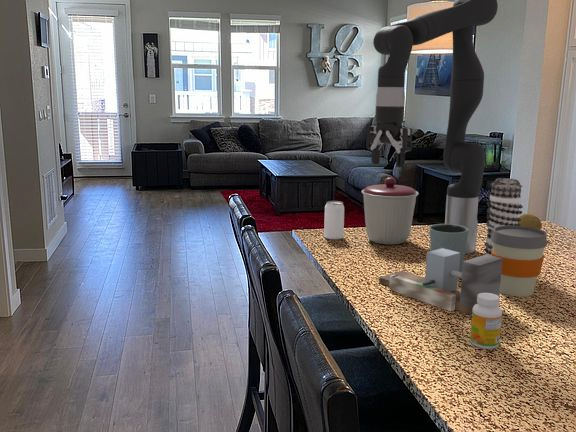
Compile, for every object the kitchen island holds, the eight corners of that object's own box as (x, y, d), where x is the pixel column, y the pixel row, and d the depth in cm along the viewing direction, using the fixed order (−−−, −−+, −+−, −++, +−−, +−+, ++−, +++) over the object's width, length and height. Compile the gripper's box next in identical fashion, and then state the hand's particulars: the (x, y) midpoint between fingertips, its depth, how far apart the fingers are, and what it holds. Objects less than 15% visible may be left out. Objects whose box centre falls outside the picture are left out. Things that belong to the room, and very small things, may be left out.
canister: (375, 231, 197) (377, 172, 193) (424, 239, 187) (428, 176, 182) (349, 242, 183) (351, 178, 178) (401, 251, 172) (404, 183, 168)
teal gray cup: (465, 267, 157) (469, 225, 155) (464, 277, 148) (468, 233, 146) (428, 263, 161) (431, 222, 158) (425, 273, 151) (427, 230, 149)
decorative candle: (475, 268, 156) (483, 179, 151) (489, 261, 162) (497, 175, 157) (508, 276, 150) (517, 183, 145) (521, 268, 156) (530, 179, 151)
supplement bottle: (465, 338, 111) (469, 291, 109) (491, 337, 112) (495, 290, 110) (476, 350, 106) (480, 301, 104) (504, 349, 107) (508, 300, 105)
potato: (512, 234, 195) (514, 211, 193) (535, 235, 194) (537, 212, 192) (517, 239, 188) (519, 215, 187) (541, 240, 187) (544, 216, 186)
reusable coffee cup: (536, 302, 131) (543, 240, 127) (481, 292, 137) (486, 232, 134) (545, 287, 141) (551, 229, 138) (493, 278, 148) (498, 223, 144)
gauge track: (374, 284, 143) (375, 240, 140) (402, 276, 149) (404, 233, 147) (470, 318, 121) (474, 267, 119) (498, 307, 128) (502, 258, 125)
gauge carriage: (414, 291, 132) (416, 254, 130) (440, 283, 138) (442, 248, 136) (443, 301, 126) (446, 263, 124) (468, 292, 132) (471, 255, 130)
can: (342, 240, 185) (343, 204, 182) (322, 239, 186) (323, 203, 184) (344, 235, 191) (345, 201, 189) (325, 234, 192) (326, 200, 190)
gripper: (420, 105, 146) (417, 167, 150) (379, 104, 157) (377, 162, 161) (401, 105, 142) (398, 169, 145) (360, 104, 153) (358, 164, 156)
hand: (387, 165), depth 153 cm, fingers open, 8 cm apart
